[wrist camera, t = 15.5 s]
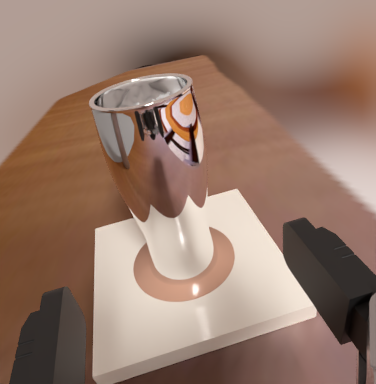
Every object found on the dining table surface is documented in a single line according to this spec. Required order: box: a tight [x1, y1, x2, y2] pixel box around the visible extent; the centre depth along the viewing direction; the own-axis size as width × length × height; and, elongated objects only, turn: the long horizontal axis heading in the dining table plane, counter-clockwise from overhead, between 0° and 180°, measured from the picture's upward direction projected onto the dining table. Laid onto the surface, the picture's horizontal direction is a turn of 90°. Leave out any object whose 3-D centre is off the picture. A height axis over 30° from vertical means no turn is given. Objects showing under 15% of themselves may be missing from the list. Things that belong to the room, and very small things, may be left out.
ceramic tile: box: [92, 189, 317, 384], centre depth 29 cm, size 16×16×2 cm
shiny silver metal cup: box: [89, 74, 218, 286], centre depth 24 cm, size 7×7×15 cm
